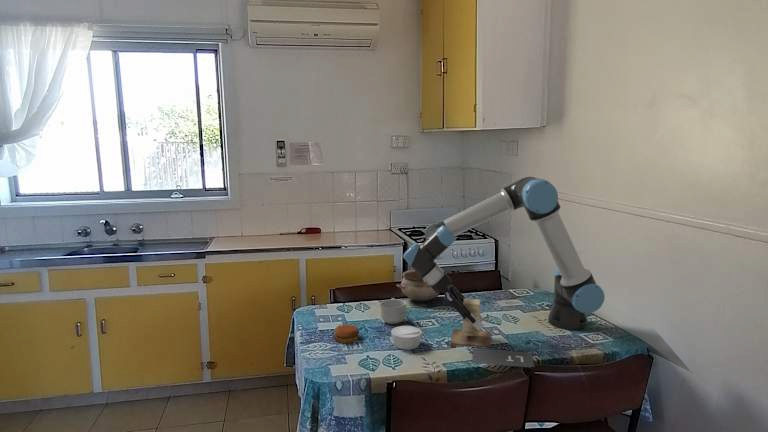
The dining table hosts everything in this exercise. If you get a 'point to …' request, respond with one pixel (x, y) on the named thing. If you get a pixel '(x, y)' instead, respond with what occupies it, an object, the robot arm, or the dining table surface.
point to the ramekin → (406, 337)
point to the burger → (346, 333)
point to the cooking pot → (416, 287)
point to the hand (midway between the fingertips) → (481, 324)
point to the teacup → (393, 310)
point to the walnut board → (470, 339)
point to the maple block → (473, 308)
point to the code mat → (502, 358)
